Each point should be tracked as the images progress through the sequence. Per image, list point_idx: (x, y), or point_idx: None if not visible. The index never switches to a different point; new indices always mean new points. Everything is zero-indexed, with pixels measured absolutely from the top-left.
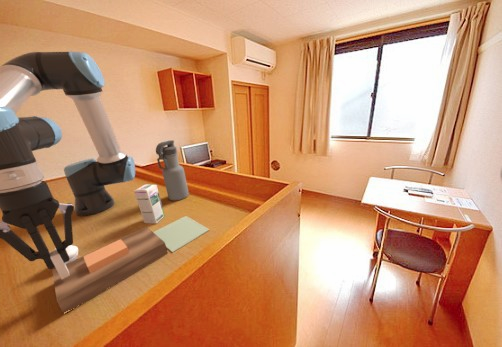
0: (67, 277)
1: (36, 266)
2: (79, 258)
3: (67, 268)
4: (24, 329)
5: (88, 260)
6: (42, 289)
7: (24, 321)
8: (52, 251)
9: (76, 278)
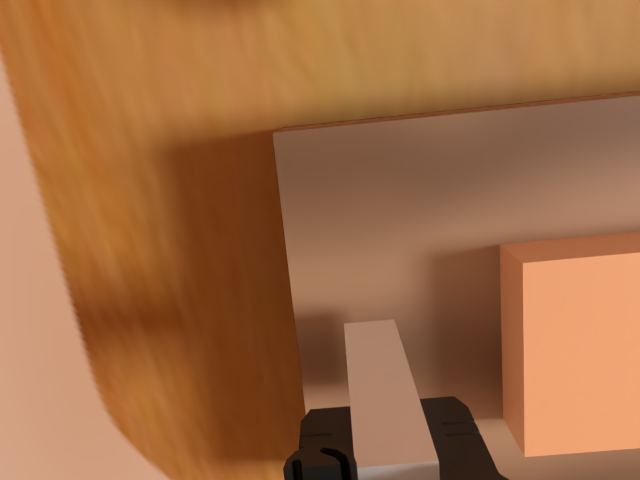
0: None
1: None
2: (466, 128)
3: (396, 330)
4: (169, 413)
5: (547, 372)
6: (198, 127)
7: (157, 356)
8: (384, 472)
9: None
